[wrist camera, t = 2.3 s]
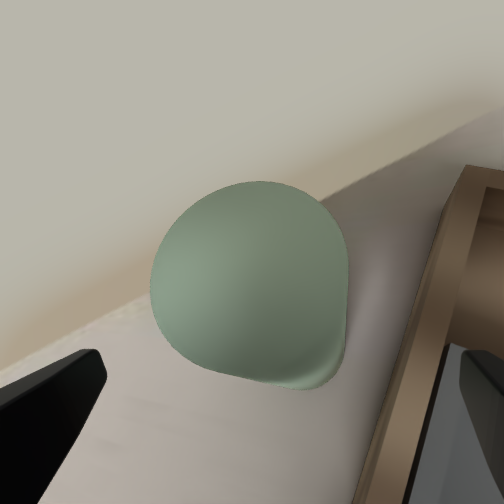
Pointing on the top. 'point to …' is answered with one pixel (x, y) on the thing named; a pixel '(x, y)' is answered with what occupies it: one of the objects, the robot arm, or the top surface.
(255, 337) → the pale green cylinder
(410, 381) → the dock
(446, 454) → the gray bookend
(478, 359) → the robot arm
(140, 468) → the top surface
